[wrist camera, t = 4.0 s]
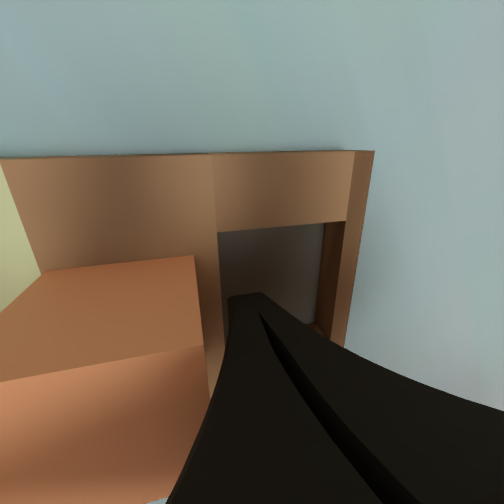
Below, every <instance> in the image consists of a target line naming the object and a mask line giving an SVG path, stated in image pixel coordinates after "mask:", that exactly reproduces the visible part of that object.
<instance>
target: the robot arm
mask: <svg viewBox="0 0 504 504" xmlns="http://www.w3.org/2000/svg"><path fill="white" fill-rule="evenodd" d="M227 306H228V324H229V329H228V337H227V342H226V347H225V352H224V357H223V361H222V365H221V369H220V372H219V376H218V379H217V382H216V386H215V389H214V392H213V394H212V397H211V400H210V403H209V406H208V409H207V411H206V414H205V417H204V419H203V422H202V424H201V427H200V429H199V432H198V434H197V436H196V439H195V441H194V443H193V446H192V448H191V450H190V453H189V455H188V457H187V460H186V462H185V464H184V467H183V469H182V471H181V473H180V475H179V477H178V480H177V482H176V484H175V486H174V488H173V490H172V492H171V494H170V496H169V498H168V500H167V502H166V504H504V411H501V410H498V409H495V408H492V407H488V406H485V405H482V404H479V403H476V402H472V401H469V400H466V399H463V398H460V397H457V396H454V395H452V394H449V393H446V392H444V391H441V390H438V389H435V388H433V387H430V386H427V385H425V384H422V383H419V382H417V381H414V380H412V379H409V378H407V377H404V376H402V375H400V374H397V373H395V372H393V371H391V370H388V369H386V368H384V367H382V366H379V365H377V364H375V363H373V362H371V361H369V360H367V359H365V358H362V357H360V356H359V355H357V354H355V353H353V352H351V351H349V350H347V349H345V348H343V347H342V346H340V345H338V344H336V343H334V342H333V341H331V340H329V339H327V338H326V337H324V336H323V335H321V334H319V333H318V332H316V331H315V330H313V329H311V328H310V327H309V326H307V325H306V324H304V323H303V322H301V321H300V320H298V319H297V318H295V317H294V316H293V315H291V314H290V313H289V312H287V311H286V310H284V309H283V308H282V307H281V306H279V305H278V304H277V303H275V302H274V301H273V300H271V299H270V298H269V297H268V296H266V295H265V294H264V293H262V292H256V293H249V294H242V295H235V296H230V297H229V298H228V299H227Z"/></svg>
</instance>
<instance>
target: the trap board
mask: <svg viewBox="0 0 504 504" xmlns="http://www.w3.org/2000/svg"><path fill="white" fill-rule="evenodd" d="M374 153H375V151H363V150H316V151H272V152H227V153H182V154H137V155H92V156H47V157H2V158H0V312H2V311H3V310H4V309H5V308H6V307H7V306H8V305H9V304H10V303H11V302H12V301H13V300H15V299H16V298H17V297H18V296H19V295H20V294H21V293H22V292H23V291H24V290H25V289H26V288H28V287H29V286H30V285H31V284H32V283H33V282H34V281H35V280H36V279H37V278H38V277H40V276H41V275H42V274H43V273H44V272H45V271H50V270H60V269H69V268H78V267H87V266H96V265H105V264H115V263H124V262H133V261H142V260H151V259H161V258H170V257H179V256H188V255H194V261H195V270H196V279H197V288H198V297H199V306H200V314H201V323H202V332H203V341H204V350H205V359H206V368H207V377H208V386H209V395H210V400H211V397H212V394H213V392H214V389H215V386H216V382H217V379H218V376H219V372H220V369H221V365H222V361H223V357H224V352H225V347H226V342H227V337H228V329H229V324H228V306H227V299H228V298H229V297H230V296H235V295H242V294H249V293H256V292H262V293H264V294H265V295H266V296H268V297H269V298H270V299H271V300H273V301H274V302H275V303H277V304H278V305H279V306H281V307H282V308H283V309H284V310H286V311H287V312H289V313H290V314H291V315H293V316H294V317H295V318H297V319H298V320H300V321H301V322H303V323H304V324H306V325H307V326H309V327H310V328H311V329H313V330H315V331H316V332H318V333H319V334H321V335H323V336H324V337H326V338H327V339H329V340H331V341H333V342H334V343H336V344H338V345H340V346H342V347H343V348H344V343H345V336H346V330H347V324H348V317H349V311H350V305H351V298H352V292H353V286H354V279H355V273H356V267H357V260H358V254H359V248H360V241H361V235H362V229H363V222H364V216H365V210H366V203H367V197H368V191H369V184H370V178H371V172H372V165H373V159H374Z"/></svg>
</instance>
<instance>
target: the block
mask: <svg viewBox="0 0 504 504" xmlns="http://www.w3.org/2000/svg"><path fill="white" fill-rule="evenodd" d="M209 403H210V395H209V386H208V377H207V368H206V359H205V350H204V341H203V332H202V323H201V314H200V306H199V297H198V288H197V279H196V270H195V261H194V255H188V256H179V257H170V258H161V259H151V260H142V261H133V262H124V263H115V264H105V265H96V266H87V267H78V268H69V269H60V270H50V271H45V272H44V273H43V274H42V275H41V276H40V277H38V278H37V279H36V280H35V281H34V282H33V283H32V284H31V285H30V286H29V287H28V288H26V289H25V290H24V291H23V292H22V293H21V294H20V295H19V296H18V297H17V298H16V299H15V300H13V301H12V302H11V303H10V304H9V305H8V306H7V307H6V308H5V309H4V310H3V311H2V312H0V504H146V503H149V502H152V501H155V500H159V499H162V498H165V497H169V496H170V494H171V492H172V490H173V488H174V486H175V484H176V482H177V480H178V477H179V475H180V473H181V471H182V469H183V467H184V464H185V462H186V460H187V457H188V455H189V453H190V450H191V448H192V446H193V443H194V441H195V439H196V436H197V434H198V432H199V429H200V427H201V424H202V422H203V419H204V417H205V414H206V411H207V409H208V406H209Z"/></svg>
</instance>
